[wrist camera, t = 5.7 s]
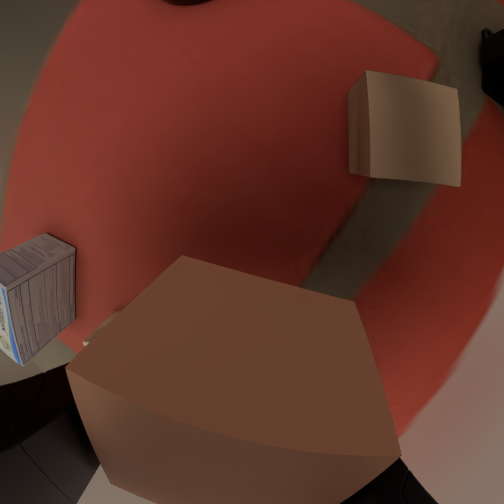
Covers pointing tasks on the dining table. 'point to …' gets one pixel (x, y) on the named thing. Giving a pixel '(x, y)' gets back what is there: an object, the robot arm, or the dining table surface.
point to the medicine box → (35, 295)
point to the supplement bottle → (183, 1)
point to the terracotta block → (234, 393)
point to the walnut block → (404, 129)
